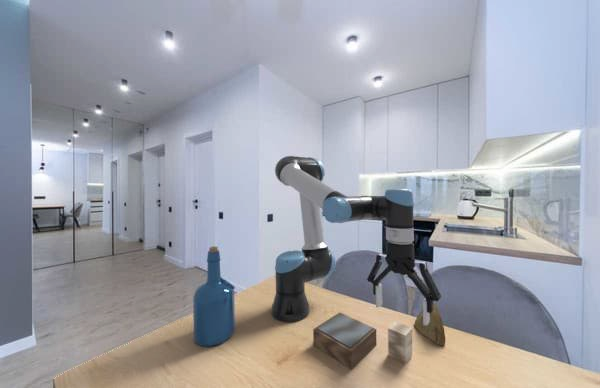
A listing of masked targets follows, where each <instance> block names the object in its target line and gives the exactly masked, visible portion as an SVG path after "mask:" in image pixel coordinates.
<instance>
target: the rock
mask: <svg viewBox="0 0 600 388" xmlns="http://www.w3.org/2000/svg"><path fill="white" fill-rule="evenodd" d="M443 323H444V322H443V320H442V317H441V315H440V312H439V309H438V307H437V305H436V304H435V303H433V312H432V313H430V322H429V323H428V324H427V326H426V325H423V309H422V310H421V311H420V313H419V314H418V315H417V317H416V319H415V321H414V324H413V327H414V328H416V330H417V331H418V332H419V333H421V334H422V335H423V336H425V337H427V338H428V339H429V340H431V341H433V342H434V343H435V344H436V345H439V346H445V345H446V335H445V327H444V324H443Z"/></svg>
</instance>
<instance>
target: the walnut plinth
mask: <svg viewBox="0 0 600 388" xmlns="http://www.w3.org/2000/svg"><path fill="white" fill-rule="evenodd" d="M312 332H313V339H312V340H313V341H312V342H313V346H314V347H316V348H318V349H319V350H321V351H323V352H324V354H325V353H326V355H329V356H330V357H331V358H333V359H334V360H336V361H337V362H339V363H341V364H342V365H343V366H345V367H346V368H348V369H350V370H353V369H354V368H355V367H356V366H357V365H358V364H359V363H360V362H361V361H363V359H364V358H365V357H366V356H367V355H368V354H369V353H370V352H371V351H372V350H373V349H374V348H375V347H376V346H377V328H375V327H372V326H370V325H368V324H365V322H362V321H359V320H357V319H355V318H353V317H351V316H349V315H347V314H344V313H343V312H339V311H338V312H337V313H335V315H333V316H331V317H330V318H329V319H327V320H326V321H324V322H322V323H321V324H319V325H317V326H316V327H314V328H313V330H312Z"/></svg>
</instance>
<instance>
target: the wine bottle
mask: <svg viewBox="0 0 600 388" xmlns="http://www.w3.org/2000/svg"><path fill="white" fill-rule="evenodd" d="M218 249H219V248H218V246H210V247H209V249H208V251H207V257H206V262H207V266H206V267H207V271H206V272H207V273H206V281H205V282H203V283H202V284H201V285H200V286H199V285H198V287H197V288H196V289H195V290H194V293H193V299H192V300H193V301H192V302H193V303H192V307H193V309H192V310H193V311H192V312H193V315H192V316H193V340H194V342H195V343H196V344H197V343H198V345H199V346H200V347H213V346H217V345H221V344H223V343H225V342H227V341H228V340H229V339H230V338H231V337H232V335H233V334H234V333H235V329H236V320H235V319H236V317H235V315H236V313H235V311H236V310H235V309H236V308H235V287H236V286H235V285H233V284H231V283H230V282H229V281H227V279H224V278H223V277H222V276H221V254H220V253H221V252H220V250H218Z"/></svg>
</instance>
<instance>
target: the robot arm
mask: <svg viewBox="0 0 600 388" xmlns="http://www.w3.org/2000/svg"><path fill="white" fill-rule="evenodd" d="M325 173H326V172H325V167H324V164H323V163H322V161H320V160H319V159H317V158H313V157H305V156H296V155H295V156H294V155H288V156H284V157H282V158H281V159H279V161H277V163H276V165H275V167H274V174H275V177H276V179H277V180H278V181H279V182H280V183H281V184H283V185H285V186H287V187H290V188H293V189H294V190H295V191H296V192H298V193H299V201H300V211H301V221H302V231H303V240H304V242H303V243H304V244H303V246H302V247H301V250H288V251H284V252H282V253H280V254H278V256H277V257H276V259H275V265H274V271H275V295H274V298H273V303H272V305H271V315H272V318H274V319H276V320H278V321H279V322H280V321H281V322H288V323H291V322H298V321H301V320H303V319H306V317H308V315H309V314H310V304H309V302H308V298H307V295H306V293H305V288H306V287H305V284H306V283H309V282H313V281H315V280H320V279H324V278H326V277H328V276H330V275H332V273H333V272H334V270H335V267H336V259H335V258H336V257H335V254H333V251H332V250H331V249H329V245H328V244H326V243H325V242H324V231H323V223H322V215H321V214H323V216H324V219H325V220H326V221H327V222H329V223H331V224H334V223H335V224H336V223H337V224H343V223H348V222H356V221H364V220H365V221H367V220H382V221H385V240H387V241H386V242H385V251H386V255H384V254H383V253H382V252H381V253H378V254H377V255H376V257H375V263H374V265H373V266H372V268H371V271H370V272H369V274H368V277H367V278H366V280H367V282H369V283H371V284H372V293H373V296H375V307H376V308H378V309H379V308H380V307H382V306H383V284H382V283H381V282H382V281H383V279H385V278H386V277H387V276H388V275H389V274H390V273H391V272H393V273H394V274H400V275H402V276H406V277H407V278H409V279H410V280H411V281H412V283H413V284H414V285H415V287H416V288H417V289H418V291H419V292H420V293H421V295H422V297H424V299H423V300H422V310H423V325H426V326H427V324H428V323H429V322H430V313H432V312H433V304H434V302H438V301H440V299H441V298H442V295H441V293H440V291H439V289H438V287H437V285H436V283H435V281H434V279H433V277H432V275H431V273H430V271H429V269H428V264H427V261H416V259H415V244H414V243H413V242H414V241H415V233H414V232H415V231H414V230H415V229H414V206H415V204H414V197H413V195H414V194H413V191H412V190H411V189H409V188H398V189H397V188H394V189H393V188H392V189H386V190H385V192H384V195H381V196H380V195H360V196H355V195H354V196H347V195H345V194H343V193H341V192H339V191H338V190H336V189H335V188H333V187H331V186H329V185H328V184H326V183H324V182H322V181H323V180H324V177H325ZM321 210H322V213H321ZM384 262H386V264H387V267H386V268H384V269H383V271H382V272H381V273H379V275H378V272H379V270H380V268H381V266H383V265H382V264H383V263H384ZM415 267H416V268H417V270H418V271H419V273H420V275H421V277H422V278H423V280H424V281H423V280H422V279H421V278H420V276H419V275H418V272H417V271H416V270H415V269H414V268H415ZM377 275H378V276H377ZM376 276H377V277H376Z"/></svg>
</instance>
